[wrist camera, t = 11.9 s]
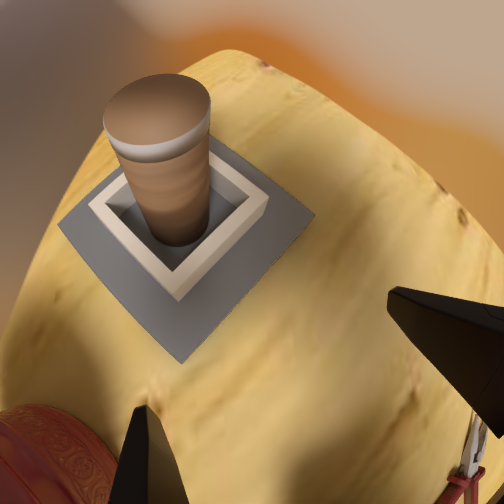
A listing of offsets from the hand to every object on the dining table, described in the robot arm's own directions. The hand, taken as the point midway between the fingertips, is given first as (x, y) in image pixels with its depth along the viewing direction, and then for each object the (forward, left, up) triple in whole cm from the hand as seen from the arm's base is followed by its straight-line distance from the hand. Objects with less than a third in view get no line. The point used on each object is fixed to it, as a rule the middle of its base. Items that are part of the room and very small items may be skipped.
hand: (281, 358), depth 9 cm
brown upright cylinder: (+4, +11, -12) cm, 17 cm away
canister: (-20, +4, -13) cm, 24 cm away
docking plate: (+4, +11, -13) cm, 17 cm away
